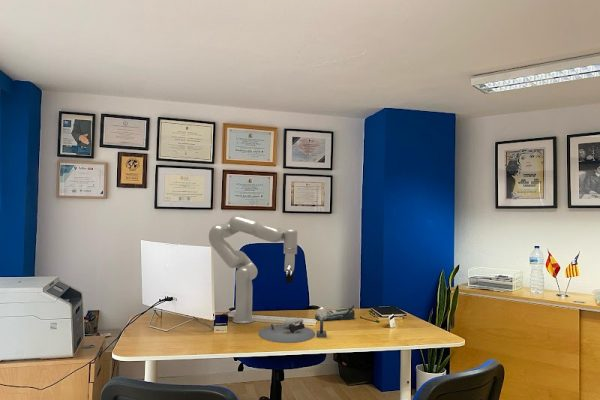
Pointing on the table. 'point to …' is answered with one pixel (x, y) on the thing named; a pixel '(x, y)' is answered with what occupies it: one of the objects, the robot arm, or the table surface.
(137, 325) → the table surface
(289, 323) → the clip-on lamp
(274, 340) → the mat
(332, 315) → the communication device
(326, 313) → the square-base wall hook
